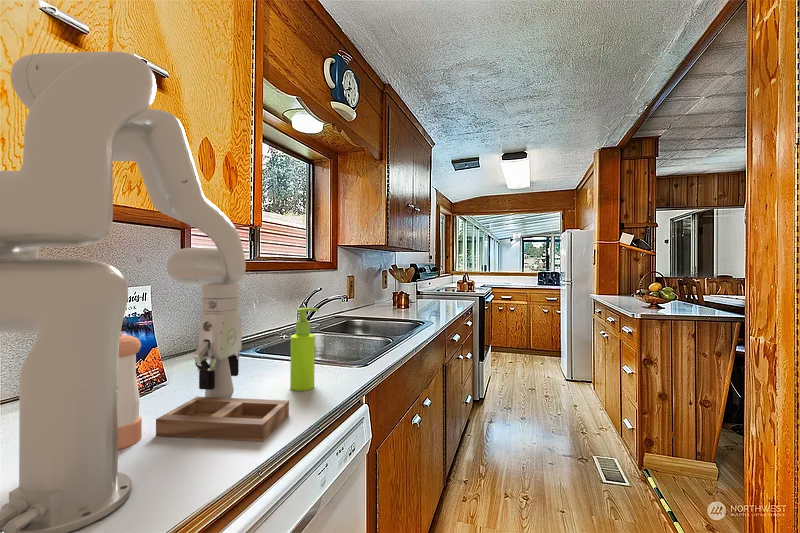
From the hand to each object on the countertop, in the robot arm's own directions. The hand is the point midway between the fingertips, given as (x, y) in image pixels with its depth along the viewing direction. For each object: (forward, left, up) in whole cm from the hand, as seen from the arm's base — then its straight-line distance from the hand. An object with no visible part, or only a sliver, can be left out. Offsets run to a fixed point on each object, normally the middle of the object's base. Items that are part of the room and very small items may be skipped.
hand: (219, 381), depth 86 cm
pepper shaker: (-20, +7, -5) cm, 22 cm away
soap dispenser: (+13, -15, -5) cm, 20 cm away
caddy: (-11, -8, -5) cm, 14 cm away
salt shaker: (0, 0, -5) cm, 5 cm away
